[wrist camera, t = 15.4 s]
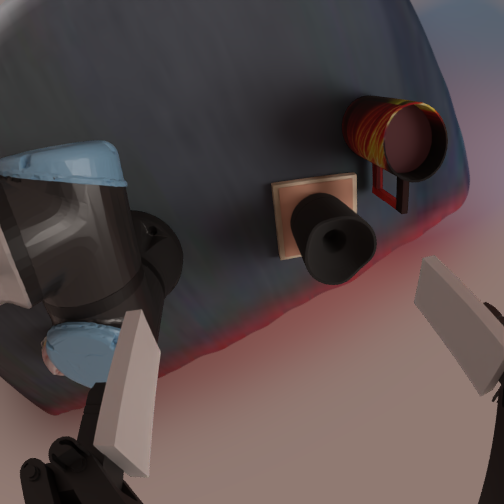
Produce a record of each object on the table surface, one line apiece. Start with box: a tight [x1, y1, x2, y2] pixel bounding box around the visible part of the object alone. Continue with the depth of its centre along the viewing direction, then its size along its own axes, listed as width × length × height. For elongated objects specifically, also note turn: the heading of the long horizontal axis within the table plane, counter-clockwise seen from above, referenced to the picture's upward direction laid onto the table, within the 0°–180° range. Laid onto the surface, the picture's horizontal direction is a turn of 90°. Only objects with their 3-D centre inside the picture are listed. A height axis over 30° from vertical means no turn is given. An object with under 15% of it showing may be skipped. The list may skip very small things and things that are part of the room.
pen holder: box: [290, 193, 377, 285], centre depth 41 cm, size 9×9×10 cm
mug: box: [342, 96, 448, 214], centre depth 37 cm, size 10×14×12 cm
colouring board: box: [271, 172, 357, 260], centre depth 46 cm, size 12×12×1 cm
